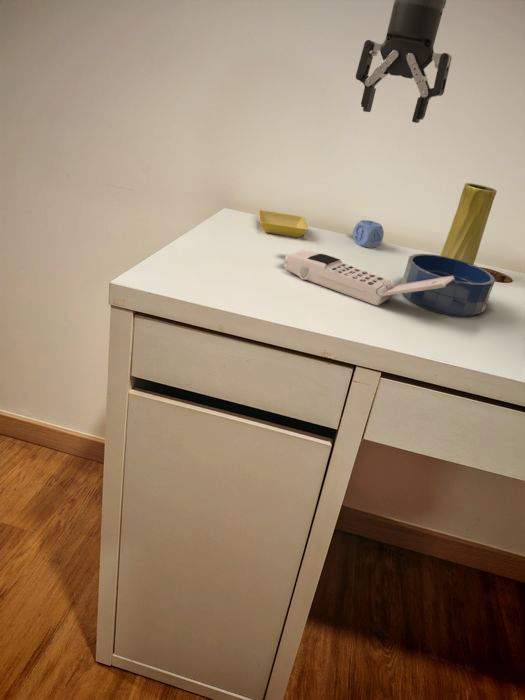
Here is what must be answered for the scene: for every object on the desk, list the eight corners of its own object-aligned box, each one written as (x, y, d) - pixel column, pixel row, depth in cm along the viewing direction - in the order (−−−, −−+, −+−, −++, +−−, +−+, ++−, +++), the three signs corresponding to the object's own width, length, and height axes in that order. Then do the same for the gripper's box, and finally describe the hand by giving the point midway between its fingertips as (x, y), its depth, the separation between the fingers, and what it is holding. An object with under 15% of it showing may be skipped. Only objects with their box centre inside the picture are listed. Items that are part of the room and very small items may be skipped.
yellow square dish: (306, 241, 103) (308, 229, 102) (257, 233, 102) (259, 221, 101) (302, 227, 110) (304, 216, 109) (256, 220, 110) (258, 209, 109)
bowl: (492, 305, 88) (503, 274, 86) (469, 325, 78) (481, 291, 76) (416, 279, 93) (425, 249, 91) (386, 295, 84) (395, 262, 82)
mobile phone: (445, 285, 73) (276, 228, 83) (430, 328, 75) (268, 267, 86) (457, 276, 77) (296, 223, 88) (443, 317, 80) (288, 261, 90)
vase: (431, 261, 105) (456, 180, 98) (463, 265, 106) (489, 185, 99) (444, 272, 99) (471, 188, 93) (477, 277, 100) (506, 193, 94)
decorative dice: (380, 247, 107) (386, 226, 105) (365, 248, 105) (370, 226, 103) (365, 240, 110) (371, 219, 108) (350, 241, 108) (355, 219, 106)
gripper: (367, -6, 89) (343, 108, 96) (460, 7, 84) (427, 126, 91) (382, 2, 95) (358, 108, 102) (469, 15, 90) (437, 125, 97)
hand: (390, 117), depth 97 cm, fingers open, 8 cm apart
